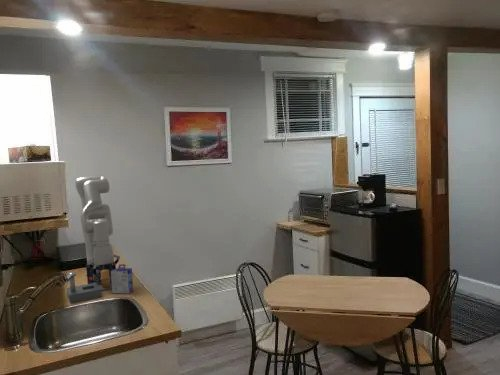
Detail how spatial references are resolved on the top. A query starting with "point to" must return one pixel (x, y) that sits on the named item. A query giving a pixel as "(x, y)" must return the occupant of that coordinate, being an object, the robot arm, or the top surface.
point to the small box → (96, 279)
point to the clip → (70, 276)
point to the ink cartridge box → (122, 280)
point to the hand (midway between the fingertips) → (104, 273)
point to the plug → (105, 278)
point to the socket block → (82, 291)
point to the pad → (105, 288)
